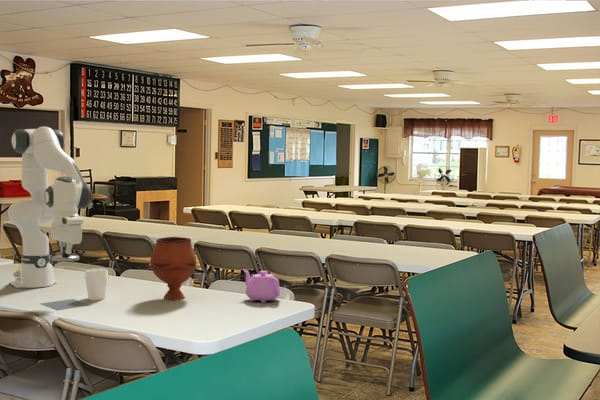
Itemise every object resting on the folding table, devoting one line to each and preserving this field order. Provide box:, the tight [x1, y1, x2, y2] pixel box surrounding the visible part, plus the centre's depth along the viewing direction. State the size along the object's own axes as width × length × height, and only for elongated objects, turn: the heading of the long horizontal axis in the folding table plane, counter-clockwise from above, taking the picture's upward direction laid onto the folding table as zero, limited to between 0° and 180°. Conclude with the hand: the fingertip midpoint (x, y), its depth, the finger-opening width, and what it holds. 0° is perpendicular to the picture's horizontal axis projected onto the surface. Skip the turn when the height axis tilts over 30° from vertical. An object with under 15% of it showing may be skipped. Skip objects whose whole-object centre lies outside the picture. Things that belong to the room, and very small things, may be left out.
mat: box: [39, 298, 91, 311], centre depth 277 cm, size 16×14×1 cm
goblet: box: [149, 236, 197, 301], centre depth 292 cm, size 19×19×25 cm
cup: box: [84, 268, 109, 301], centre depth 289 cm, size 9×9×12 cm
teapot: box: [242, 269, 281, 304], centre depth 290 cm, size 20×14×12 cm
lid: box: [52, 245, 80, 263], centre depth 277 cm, size 10×10×5 cm
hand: (65, 253), depth 277 cm, fingers closed on lid, 3 cm apart
